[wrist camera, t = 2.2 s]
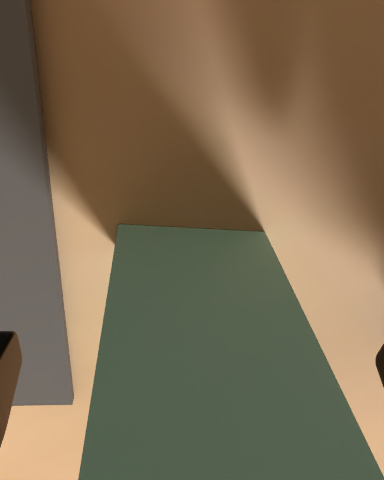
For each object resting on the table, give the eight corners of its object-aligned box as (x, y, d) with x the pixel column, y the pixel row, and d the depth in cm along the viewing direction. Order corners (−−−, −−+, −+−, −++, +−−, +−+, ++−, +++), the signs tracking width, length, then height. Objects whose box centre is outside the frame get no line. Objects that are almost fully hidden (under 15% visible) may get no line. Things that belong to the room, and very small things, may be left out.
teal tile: (264, 231, 12) (394, 498, 6) (258, 255, 13) (370, 523, 6) (118, 224, 12) (72, 518, 5) (118, 249, 12) (76, 544, 6)
